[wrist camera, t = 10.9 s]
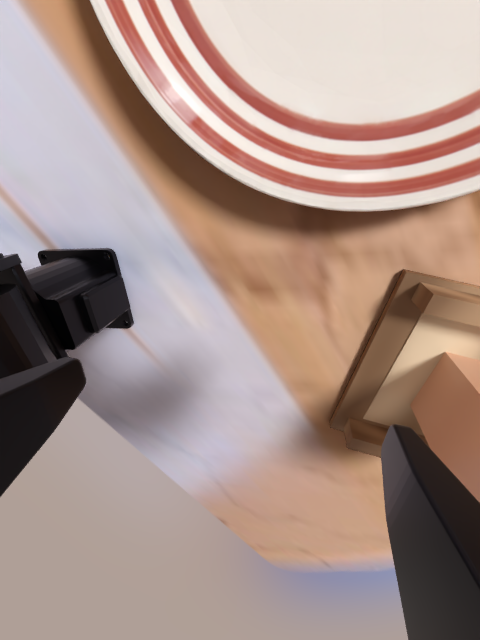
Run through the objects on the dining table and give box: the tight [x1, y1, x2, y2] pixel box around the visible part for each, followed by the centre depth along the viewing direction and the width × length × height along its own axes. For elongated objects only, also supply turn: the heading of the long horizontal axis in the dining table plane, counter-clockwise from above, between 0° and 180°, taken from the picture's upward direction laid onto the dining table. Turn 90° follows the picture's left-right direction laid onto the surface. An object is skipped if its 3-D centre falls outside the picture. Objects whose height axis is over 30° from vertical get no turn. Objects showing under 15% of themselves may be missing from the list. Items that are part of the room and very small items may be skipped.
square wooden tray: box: [330, 269, 480, 458], centre depth 19 cm, size 14×14×3 cm
